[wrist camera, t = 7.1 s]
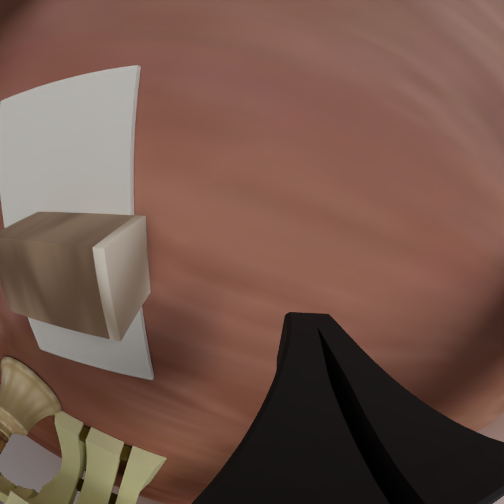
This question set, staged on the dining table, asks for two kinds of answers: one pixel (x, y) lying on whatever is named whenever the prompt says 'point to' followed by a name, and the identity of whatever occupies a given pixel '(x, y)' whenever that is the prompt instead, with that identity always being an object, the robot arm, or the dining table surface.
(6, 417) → the hand bell
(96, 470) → the slatted curved stool
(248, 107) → the dining table surface
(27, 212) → the felt mat
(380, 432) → the robot arm
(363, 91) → the dining table surface
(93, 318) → the walnut block
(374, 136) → the dining table surface
